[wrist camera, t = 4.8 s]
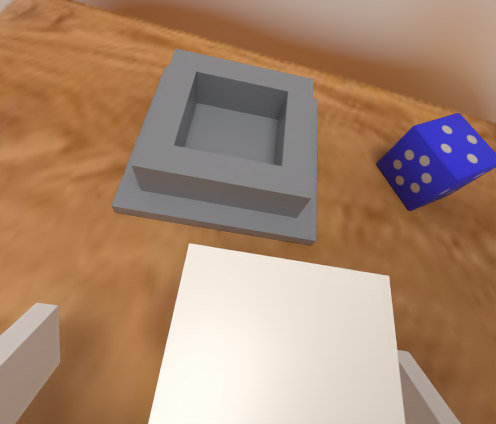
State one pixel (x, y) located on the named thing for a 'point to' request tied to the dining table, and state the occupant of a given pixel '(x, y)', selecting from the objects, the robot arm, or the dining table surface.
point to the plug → (278, 344)
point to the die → (436, 160)
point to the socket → (227, 151)
